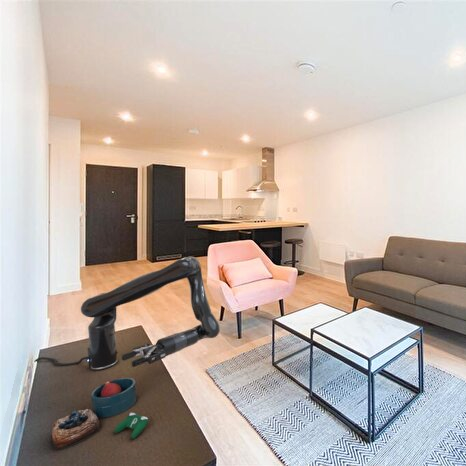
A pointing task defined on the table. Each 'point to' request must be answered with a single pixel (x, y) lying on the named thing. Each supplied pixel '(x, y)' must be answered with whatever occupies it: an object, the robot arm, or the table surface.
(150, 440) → the table surface
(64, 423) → the pastry
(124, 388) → the pot
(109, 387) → the onion
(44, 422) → the table surface
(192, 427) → the table surface
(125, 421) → the gaming controller
